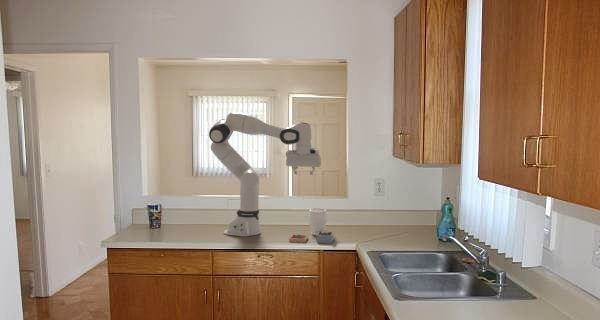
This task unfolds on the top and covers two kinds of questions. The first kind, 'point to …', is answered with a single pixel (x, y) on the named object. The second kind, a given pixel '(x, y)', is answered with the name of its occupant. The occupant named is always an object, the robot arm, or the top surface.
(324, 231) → the block
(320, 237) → the grey open box
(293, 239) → the dish
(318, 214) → the jar
